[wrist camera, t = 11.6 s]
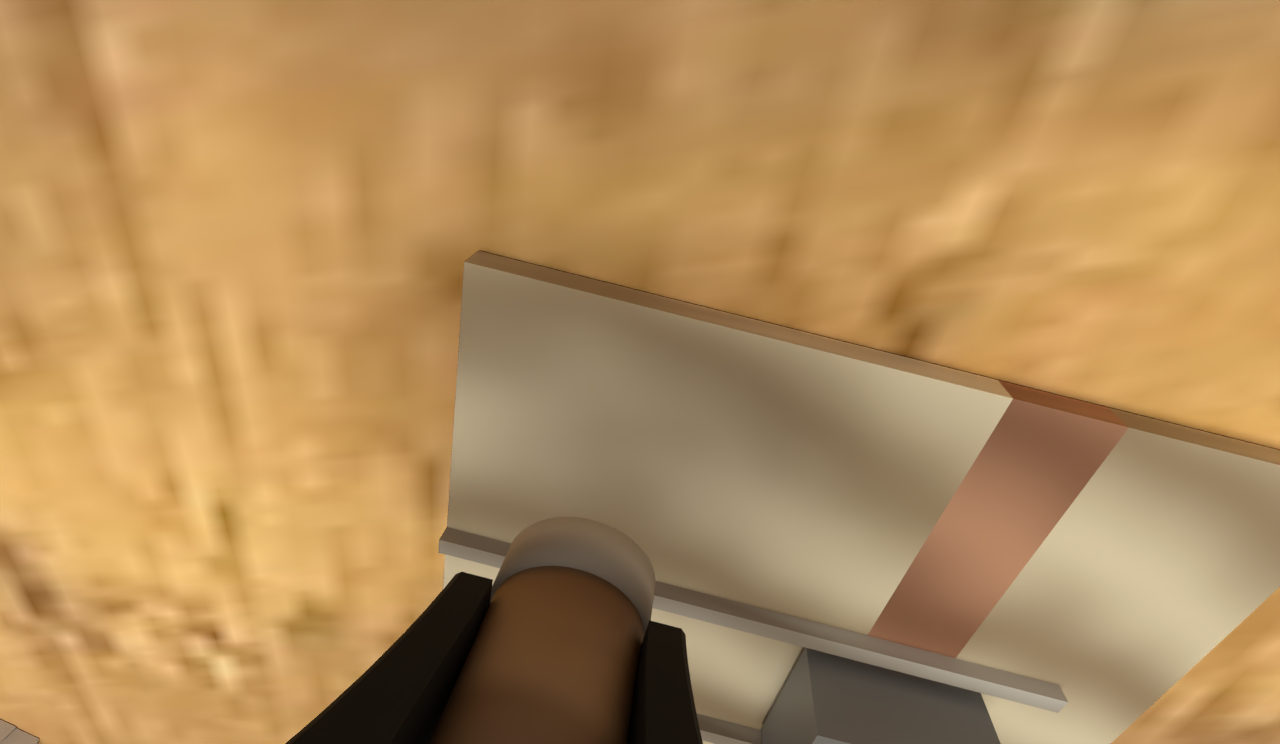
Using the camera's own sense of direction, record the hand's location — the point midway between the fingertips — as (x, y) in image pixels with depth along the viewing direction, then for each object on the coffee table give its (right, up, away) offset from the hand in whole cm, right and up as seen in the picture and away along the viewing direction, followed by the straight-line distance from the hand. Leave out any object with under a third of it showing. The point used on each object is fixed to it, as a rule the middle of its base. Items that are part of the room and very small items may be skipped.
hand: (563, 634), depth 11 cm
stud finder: (+9, -7, +10) cm, 15 cm away
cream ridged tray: (+7, -2, +9) cm, 12 cm away
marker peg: (0, +1, +1) cm, 2 cm away
